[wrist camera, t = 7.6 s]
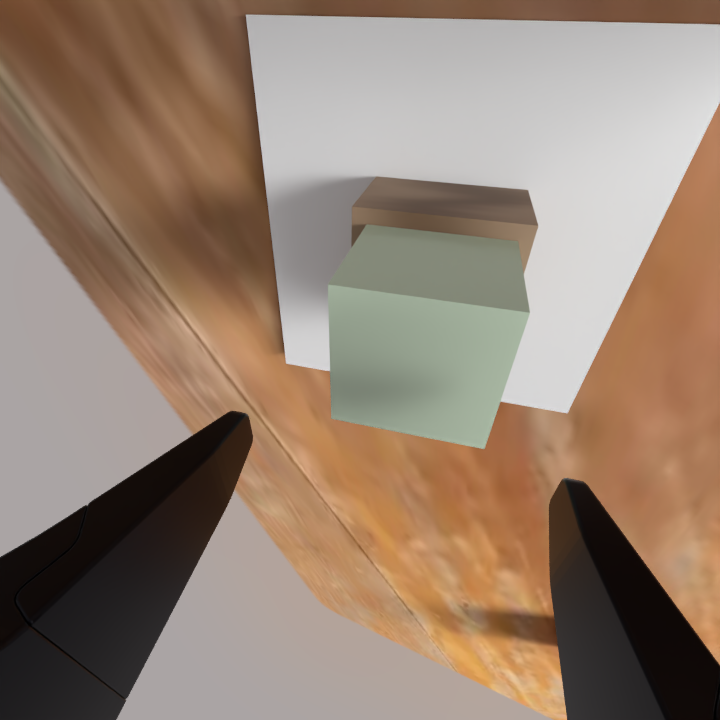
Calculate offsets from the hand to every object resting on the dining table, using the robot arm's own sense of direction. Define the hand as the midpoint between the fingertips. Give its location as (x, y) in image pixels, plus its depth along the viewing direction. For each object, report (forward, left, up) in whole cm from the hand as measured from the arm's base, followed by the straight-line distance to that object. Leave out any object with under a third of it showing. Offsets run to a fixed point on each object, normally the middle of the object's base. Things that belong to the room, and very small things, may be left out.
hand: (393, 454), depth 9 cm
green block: (0, 0, -8) cm, 8 cm away
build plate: (0, 0, -12) cm, 13 cm away
